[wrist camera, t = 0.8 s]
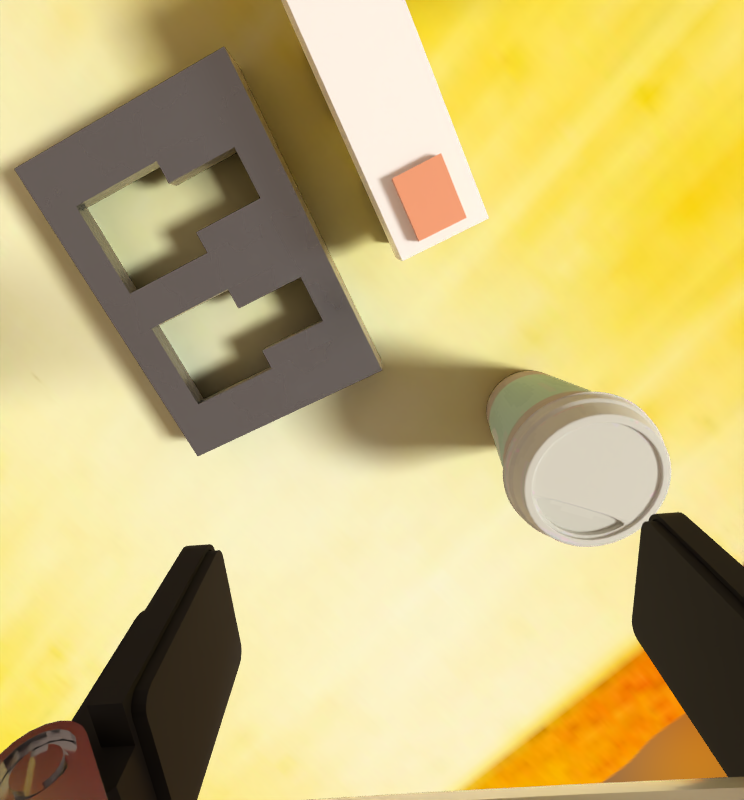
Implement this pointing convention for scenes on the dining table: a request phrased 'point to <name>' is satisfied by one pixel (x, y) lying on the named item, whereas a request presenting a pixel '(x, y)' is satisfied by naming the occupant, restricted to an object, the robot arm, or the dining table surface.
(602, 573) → the dining table surface
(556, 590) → the dining table surface
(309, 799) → the robot arm
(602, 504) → the coffee cup
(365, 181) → the white block orange button
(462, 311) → the dining table surface
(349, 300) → the grey frame with openings
